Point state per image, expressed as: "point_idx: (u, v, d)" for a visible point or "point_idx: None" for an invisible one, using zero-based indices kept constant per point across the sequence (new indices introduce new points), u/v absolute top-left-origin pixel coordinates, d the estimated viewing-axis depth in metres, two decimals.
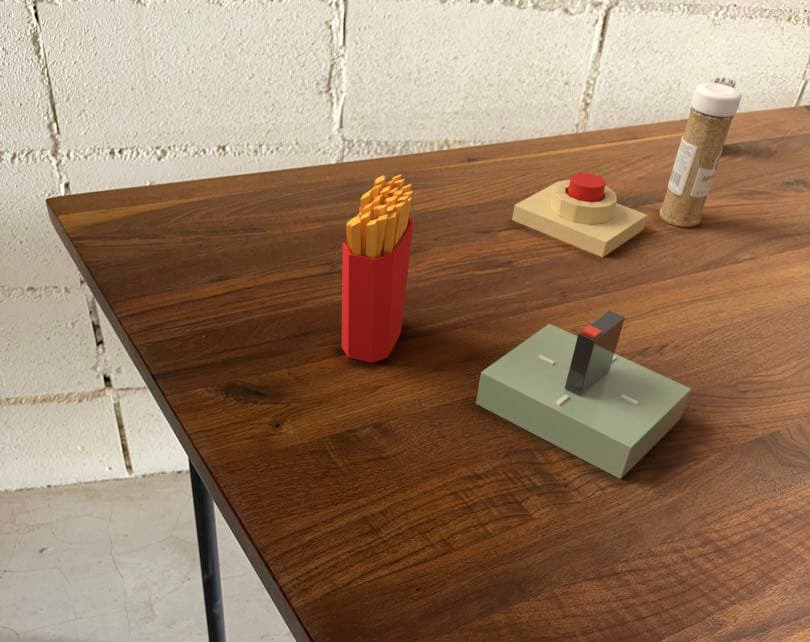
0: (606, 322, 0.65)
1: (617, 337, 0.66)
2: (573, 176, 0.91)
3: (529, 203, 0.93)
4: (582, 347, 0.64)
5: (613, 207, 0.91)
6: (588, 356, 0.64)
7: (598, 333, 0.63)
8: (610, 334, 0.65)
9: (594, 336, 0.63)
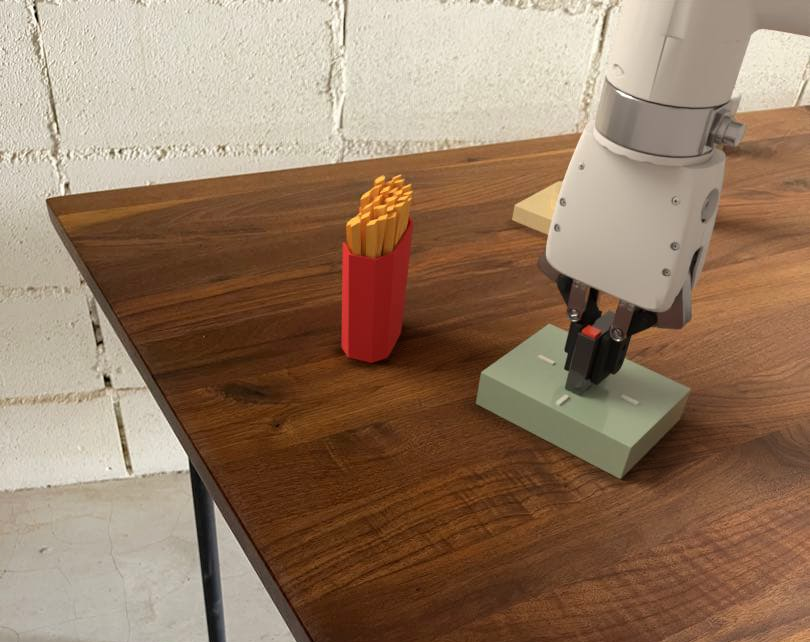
0: (606, 322, 0.65)
1: None
2: None
3: (529, 203, 0.93)
4: (582, 347, 0.64)
5: None
6: (588, 356, 0.64)
7: (598, 333, 0.63)
8: None
9: (594, 336, 0.63)
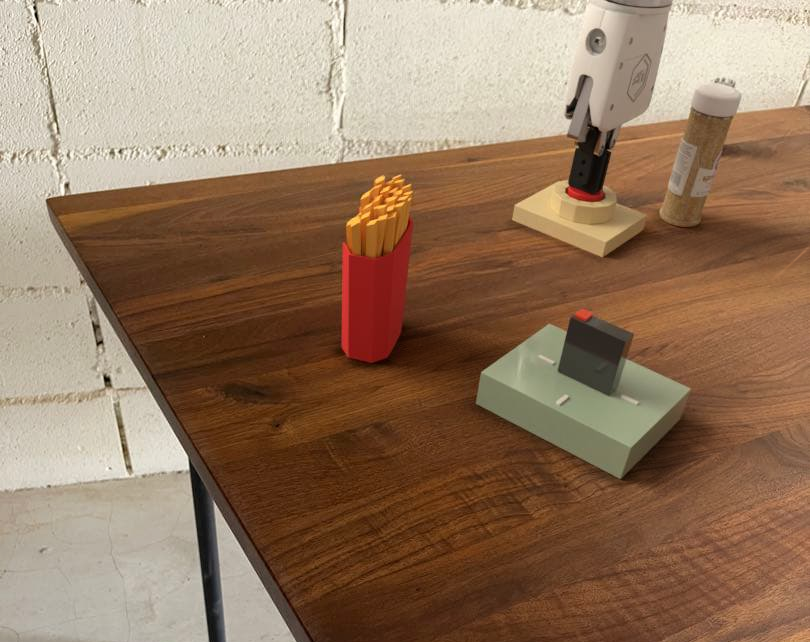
0: (608, 328, 0.64)
1: (614, 357, 0.64)
2: None
3: (529, 203, 0.93)
4: None
5: (613, 207, 0.91)
6: (567, 331, 0.66)
7: (580, 317, 0.65)
8: (599, 337, 0.64)
9: (575, 314, 0.65)
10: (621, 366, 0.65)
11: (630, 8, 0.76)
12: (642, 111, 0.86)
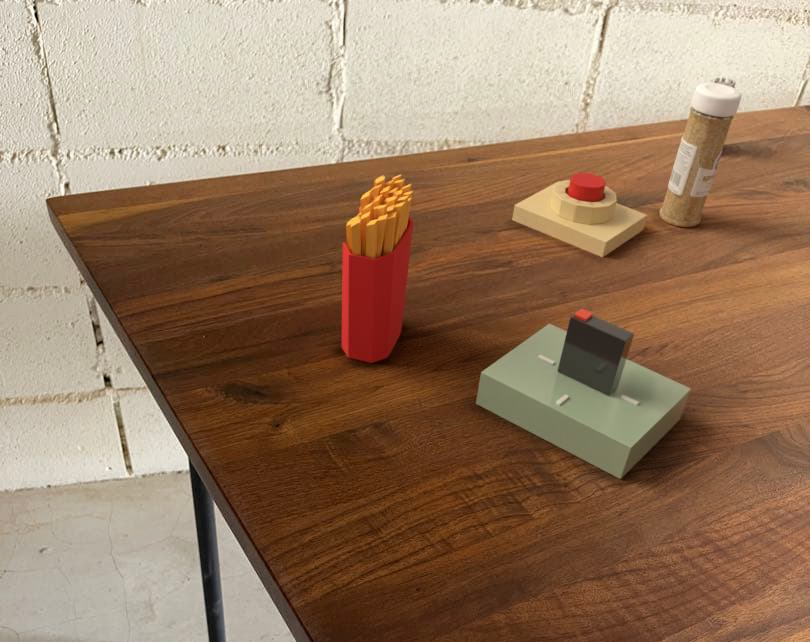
0: (608, 328, 0.64)
1: (614, 357, 0.64)
2: (573, 176, 0.91)
3: (529, 203, 0.93)
4: None
5: (613, 207, 0.91)
6: (567, 331, 0.66)
7: (580, 317, 0.65)
8: (599, 337, 0.64)
9: (575, 314, 0.65)
10: (621, 366, 0.65)
11: None
12: None
